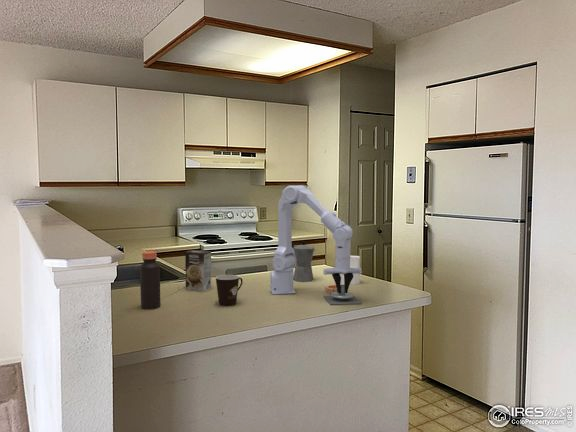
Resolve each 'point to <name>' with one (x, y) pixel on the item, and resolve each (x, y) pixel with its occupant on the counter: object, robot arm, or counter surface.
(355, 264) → the cylinder with rectangular tab
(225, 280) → the coffee mug
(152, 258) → the bottle
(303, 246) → the coffeepot
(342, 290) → the lid
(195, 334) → the counter surface
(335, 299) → the mat
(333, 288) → the bowl
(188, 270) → the coffee box
